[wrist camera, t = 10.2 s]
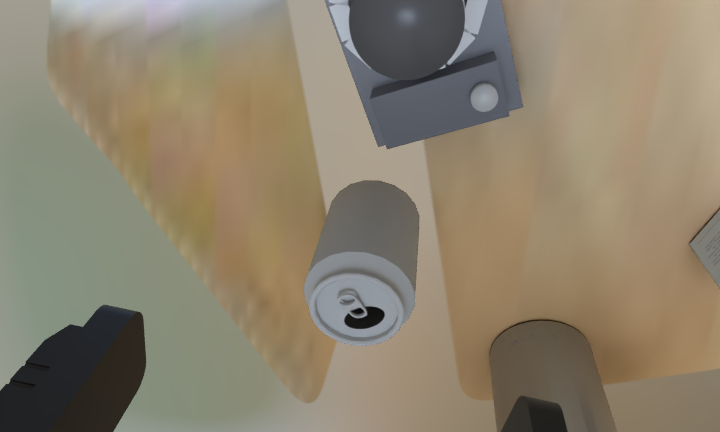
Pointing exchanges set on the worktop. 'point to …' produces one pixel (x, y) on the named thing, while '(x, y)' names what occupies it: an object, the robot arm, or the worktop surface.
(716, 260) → the small box
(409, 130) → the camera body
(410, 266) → the can
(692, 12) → the worktop surface
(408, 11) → the lens
